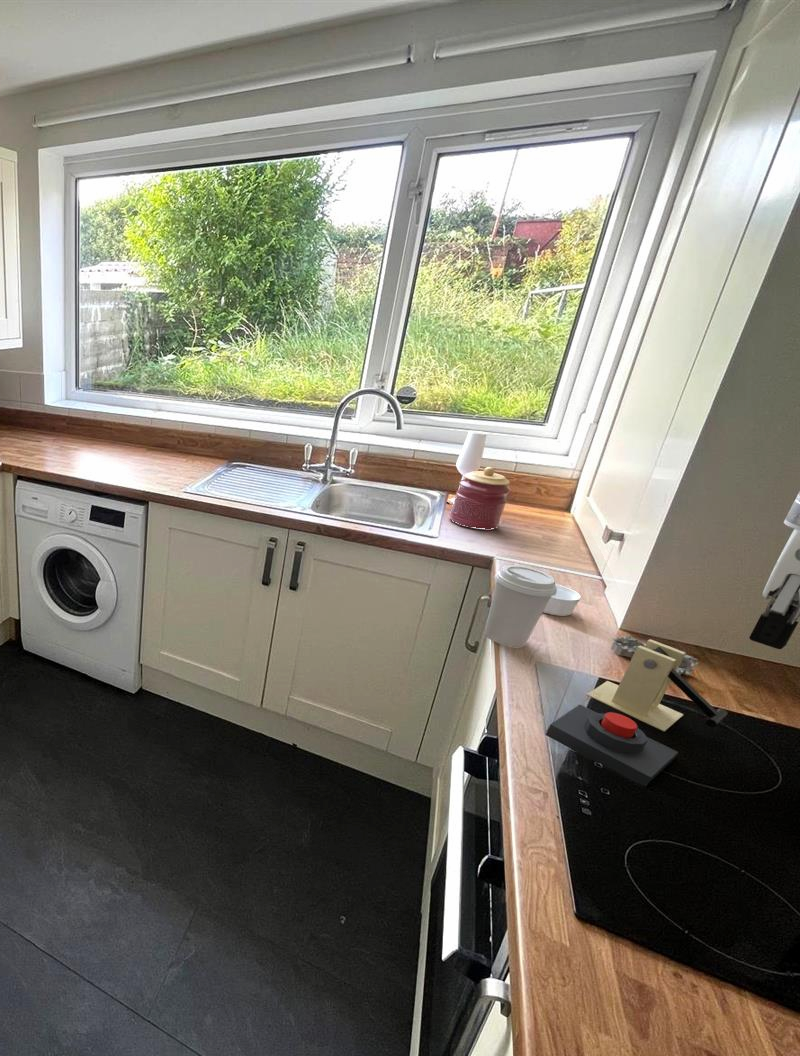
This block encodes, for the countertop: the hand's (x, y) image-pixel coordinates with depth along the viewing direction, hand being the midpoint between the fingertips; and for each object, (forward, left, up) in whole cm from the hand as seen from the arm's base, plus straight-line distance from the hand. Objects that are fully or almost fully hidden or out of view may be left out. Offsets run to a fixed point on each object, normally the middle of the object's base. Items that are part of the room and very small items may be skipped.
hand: (766, 642), depth 81 cm
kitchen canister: (+70, -69, -18) cm, 100 cm away
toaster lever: (+6, 0, -12) cm, 13 cm away
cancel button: (+7, +15, -15) cm, 22 cm away
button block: (+7, +15, -18) cm, 25 cm away
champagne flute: (+83, -84, -18) cm, 119 cm away
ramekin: (+33, -28, -18) cm, 47 cm away
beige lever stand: (+9, 0, -18) cm, 20 cm away
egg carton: (+13, -19, -18) cm, 29 cm away
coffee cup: (+30, -3, -18) cm, 35 cm away
